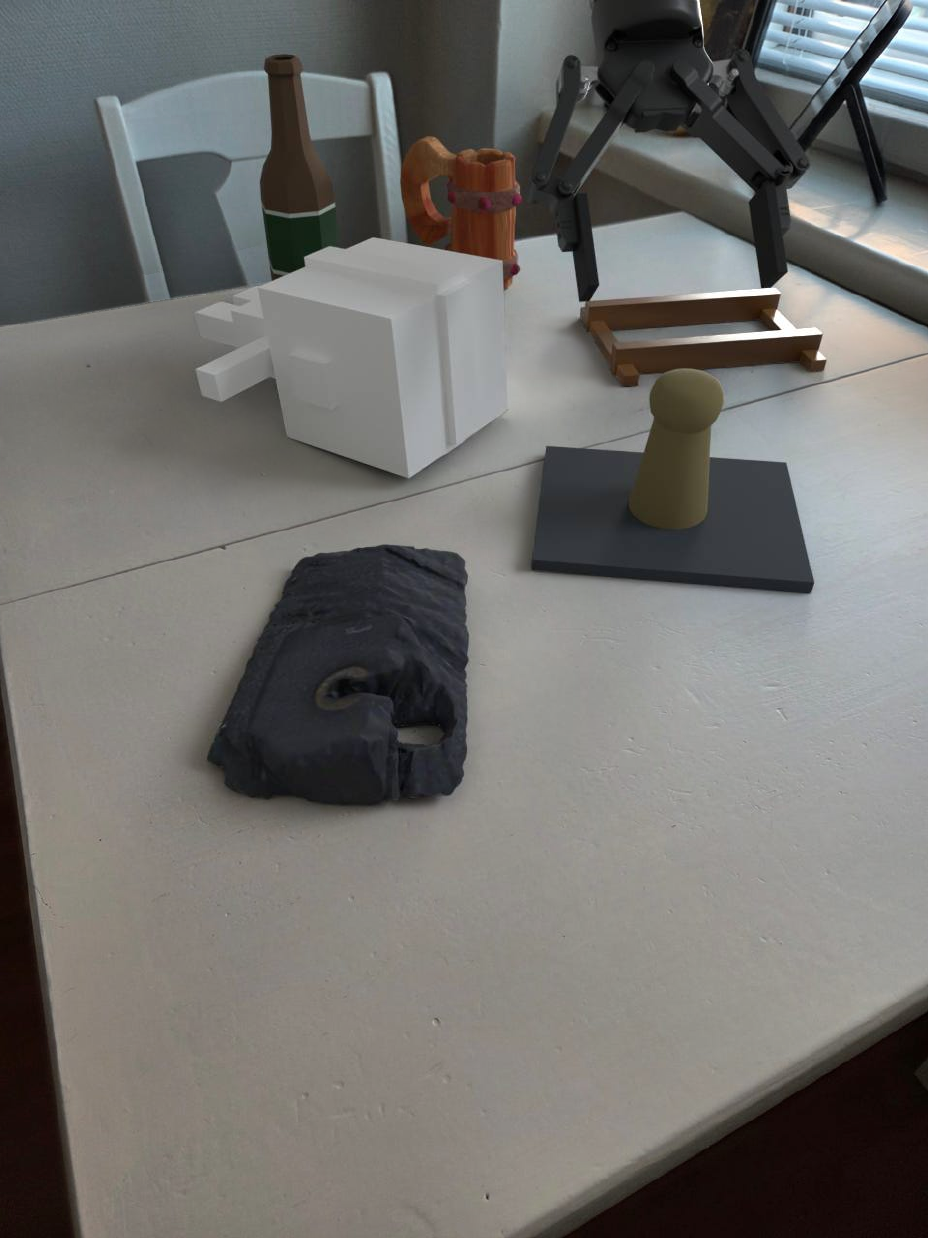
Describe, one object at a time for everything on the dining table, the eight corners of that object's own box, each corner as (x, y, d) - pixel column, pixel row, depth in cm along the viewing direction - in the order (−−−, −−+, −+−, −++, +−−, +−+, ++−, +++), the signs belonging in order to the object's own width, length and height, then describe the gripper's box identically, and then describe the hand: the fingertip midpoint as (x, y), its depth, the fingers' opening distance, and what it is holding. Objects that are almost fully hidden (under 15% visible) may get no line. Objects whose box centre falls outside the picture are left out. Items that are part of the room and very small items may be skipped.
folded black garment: (498, 576, 69) (499, 522, 66) (458, 822, 53) (458, 766, 49) (293, 559, 70) (285, 506, 67) (191, 793, 54) (175, 737, 51)
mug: (534, 284, 109) (541, 143, 99) (500, 310, 104) (504, 163, 94) (427, 260, 115) (423, 124, 105) (389, 283, 110) (382, 142, 100)
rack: (577, 317, 103) (579, 292, 101) (761, 304, 105) (766, 279, 103) (620, 387, 91) (623, 359, 89) (826, 370, 93) (833, 343, 92)
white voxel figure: (330, 339, 102) (548, 396, 89) (145, 434, 88) (373, 520, 74) (307, 194, 93) (547, 232, 79) (97, 272, 78) (346, 336, 64)
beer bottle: (319, 284, 109) (295, 44, 93) (358, 306, 105) (339, 58, 89) (260, 302, 105) (225, 55, 89) (298, 325, 101) (267, 70, 85)
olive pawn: (671, 539, 71) (695, 406, 63) (612, 503, 74) (628, 374, 67) (723, 510, 74) (752, 379, 66) (664, 476, 77) (685, 349, 70)
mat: (783, 472, 80) (786, 462, 79) (811, 593, 68) (814, 582, 67) (545, 455, 81) (546, 445, 81) (531, 570, 70) (531, 559, 69)
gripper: (783, 28, 73) (822, 296, 72) (464, 40, 70) (500, 320, 69) (832, -47, 66) (877, 250, 64) (478, -37, 62) (518, 275, 61)
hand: (682, 287), depth 67 cm, fingers open, 13 cm apart
